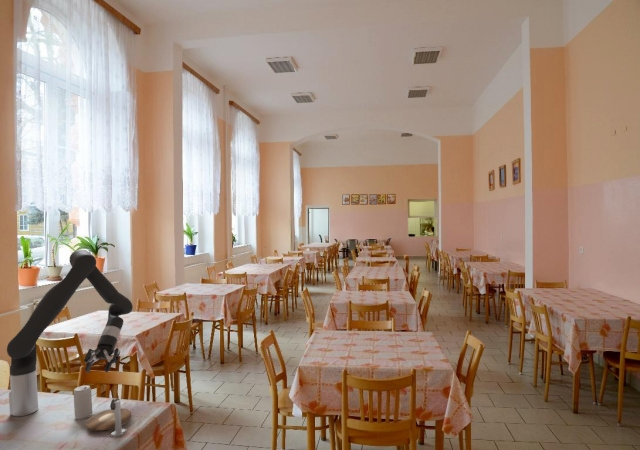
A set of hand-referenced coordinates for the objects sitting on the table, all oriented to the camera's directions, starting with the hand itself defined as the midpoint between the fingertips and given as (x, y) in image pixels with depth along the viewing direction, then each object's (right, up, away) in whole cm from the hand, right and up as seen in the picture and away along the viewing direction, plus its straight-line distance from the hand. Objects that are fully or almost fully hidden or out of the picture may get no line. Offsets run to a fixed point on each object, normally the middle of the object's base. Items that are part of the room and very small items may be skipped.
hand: (96, 371), depth 188 cm
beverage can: (0, -15, -10) cm, 18 cm away
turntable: (+15, -13, -18) cm, 27 cm away
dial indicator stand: (+22, -14, -26) cm, 37 cm away
